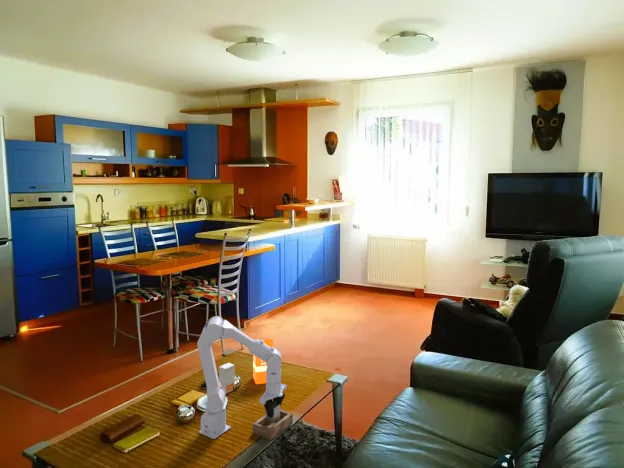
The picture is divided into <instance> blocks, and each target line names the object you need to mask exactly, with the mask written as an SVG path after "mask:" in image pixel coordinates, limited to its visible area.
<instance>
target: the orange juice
mask: <svg viewBox="0 0 624 468" xmlns="http://www.w3.org/2000/svg"><path fill="white" fill-rule="evenodd" d="M262 340H263V341H264V343H265V344H266V345H268V346H269V347H273V348H275V347H274V338H267V339H262ZM266 369H267V365H266V362H265V361H263V360H261V359H259V358H258V357H256V356H255V355H253V354H252V371H253V372H252V378H253V381H254V383H255V385H259V384H260V385H261V384H266Z"/></svg>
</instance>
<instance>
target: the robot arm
mask: <svg viewBox="0 0 624 468" xmlns="http://www.w3.org/2000/svg"><path fill="white" fill-rule="evenodd" d="M221 337H222V338H221ZM220 338H221V340H226V339H232V340H234V341H236V342H237V343H239V344H241V345H243V346H245V347H246V348H247V349H248V352H249V353H250V354H251V355H252V356H253V355H255V356H256V357H258V358H259V359H261V360H263V361H265V362H266V365H267V369H266V383H265V392H264V393H263V395H262V396H261V397H260V398H259V404H261V405H263V407H264V409H265V414H266V413H267V416H268V417H272V416H273V409H274V405H275V403H276V402H274V400H277V403H279V404H280V408H281V406H282V403H283V400H284V399H285V398H286V393H285V392H284V391H287V384H284V383H282V362H283V361H282V353H281V351H280V350H279V349H278V348H277V347H274V348H273V347H269V346H268V345H266V344H265V343H264V341H263V340H264V339H259V338H255V339H253V338H251V337H250V336H248V335H247V334H246V333H244V332H243V331H241V330H240V329H238V328H237V327H236V326H234V325H233V324H232V323H230V321H228V320H227V319H223V317H221V316H218V315H216V316H212V317H211V318H209V320H207V322H206V323H205V325H204V327H203V329H202V332H201V333H200V336H199V338H198V340H197V344H196V345H197V346H196V347H197V349H198V354H199V359H200V364H201V368H202V371H203V372H202V373H203V376H204V381H205V384H206V385H205V386H206V398H207V401H206V410H205V412H203V414H202V415H200V430H199V431H198V433H199V434H201V435H203V436H206V437H208V438H210V439H212V440H216V439H217V438H218V437H220V436H221V435H223V434H224V433H226V432H227V431H228V430H230V429H232V428H231V426H230V425H228V424H227V405H226V403H225V397H226V395H227V393H226V392H225V390H224V389H223V388H222V386H221V383H220V382H219V372H218V369H217V365H216V360H215V357H214V352H213V346H212V345H213V344H214V342H216V341H218V340H219V339H220Z"/></svg>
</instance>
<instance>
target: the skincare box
mask: <svg viewBox="0 0 624 468" xmlns="http://www.w3.org/2000/svg"><path fill="white" fill-rule="evenodd" d="M235 367H236V365H235V364H233V363H230V362H227V363H224V364H222V365H220V366H218V378H219V382H220V383H221V386H222V388H223V389H224V390H225V392H226V394H228V393H230V392H232V391H234V390H233V387H234V388H235V373H236V372H235V369H236V368H235Z"/></svg>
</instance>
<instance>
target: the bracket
mask: <svg viewBox="0 0 624 468" xmlns="http://www.w3.org/2000/svg"><path fill="white" fill-rule="evenodd" d="M274 402H276V403H275V405H274V409H273V416H272V417H268V416H267V413H266V412H265V415H266V420H267V421H270V422H273V423H275V422H276V421H277V420H279V419H280V409H281V407H280V404H279V403H277V400H274Z"/></svg>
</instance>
